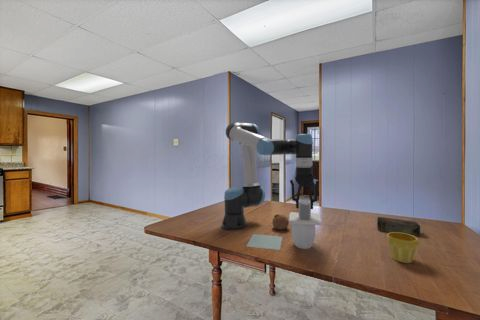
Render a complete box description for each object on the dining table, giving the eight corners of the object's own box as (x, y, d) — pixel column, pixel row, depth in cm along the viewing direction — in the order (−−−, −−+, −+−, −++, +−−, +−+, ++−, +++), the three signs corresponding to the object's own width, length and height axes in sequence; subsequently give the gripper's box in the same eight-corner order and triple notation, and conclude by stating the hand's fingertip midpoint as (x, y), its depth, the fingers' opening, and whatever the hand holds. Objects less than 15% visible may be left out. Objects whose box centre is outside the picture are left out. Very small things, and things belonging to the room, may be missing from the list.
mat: (246, 247, 105) (246, 246, 105) (253, 235, 121) (253, 234, 121) (280, 250, 101) (279, 249, 101) (282, 237, 116) (282, 236, 116)
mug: (304, 238, 115) (304, 213, 115) (324, 244, 107) (324, 218, 106) (286, 246, 106) (286, 219, 105) (306, 254, 97) (306, 225, 97)
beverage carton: (420, 237, 115) (421, 224, 115) (377, 231, 124) (377, 219, 124) (417, 232, 122) (417, 220, 121) (376, 226, 131) (376, 216, 131)
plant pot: (381, 254, 96) (381, 232, 96) (403, 252, 97) (403, 231, 97) (400, 266, 86) (400, 241, 86) (424, 264, 87) (425, 240, 86)
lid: (288, 223, 100) (288, 205, 100) (290, 214, 114) (290, 198, 113) (321, 225, 96) (321, 206, 96) (318, 216, 110) (318, 199, 110)
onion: (274, 234, 128) (266, 219, 129) (283, 226, 135) (275, 211, 135) (286, 233, 121) (277, 217, 122) (294, 224, 128) (286, 209, 128)
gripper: (285, 167, 103) (285, 216, 104) (324, 167, 98) (324, 218, 99) (286, 166, 110) (286, 212, 111) (322, 166, 106) (322, 214, 106)
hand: (304, 215), depth 105 cm, fingers closed on lid, 4 cm apart
